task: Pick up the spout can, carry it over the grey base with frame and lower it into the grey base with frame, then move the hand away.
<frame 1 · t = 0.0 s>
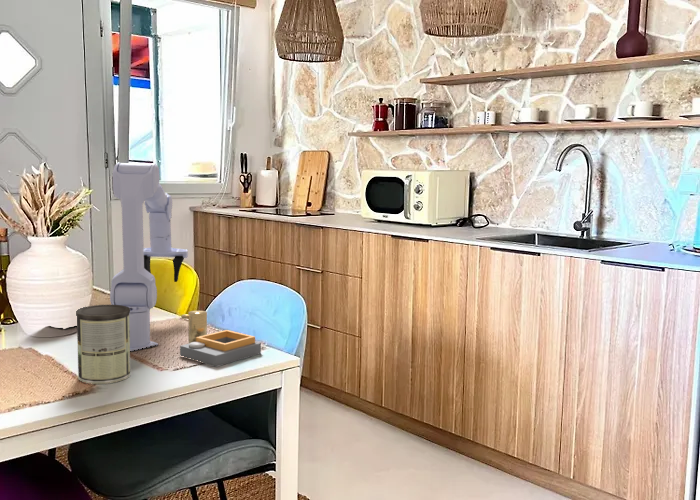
hand: (162, 280, 190), 11 cm above the table, tool pointing down, fingers open, 7 cm apart
spout can: (197, 344, 162), on the table
coffee can: (104, 377, 136), on the table
grey base with frame: (220, 354, 154), on the table
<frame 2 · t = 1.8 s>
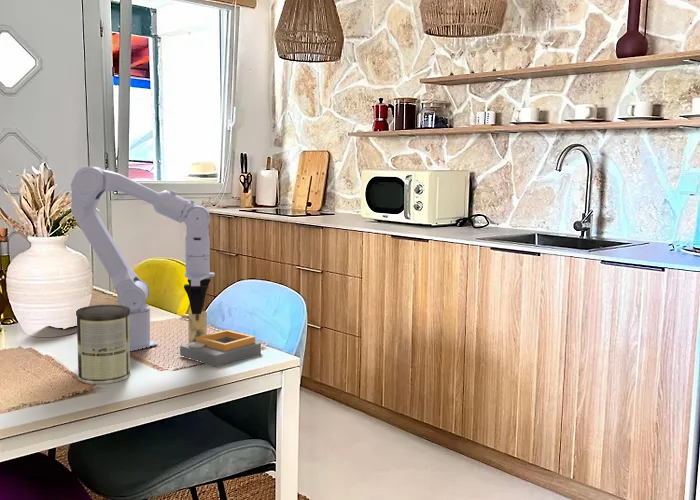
hand: (197, 310, 161), 9 cm above the table, tool pointing down, fingers open, 7 cm apart
nothing on the table moved.
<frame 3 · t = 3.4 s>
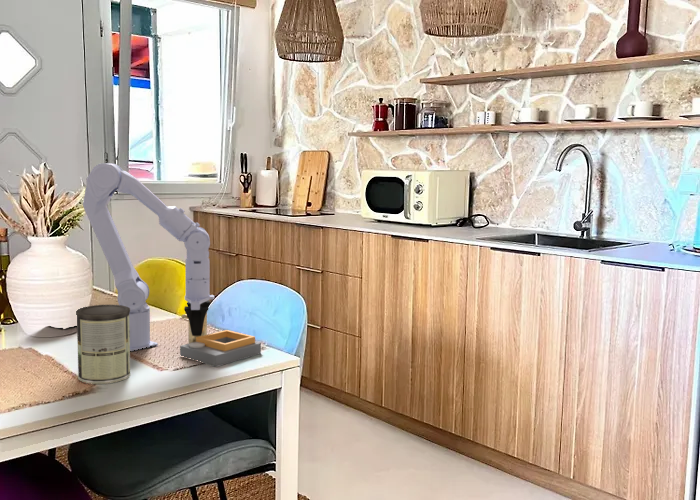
hand: (197, 332, 162), 3 cm above the table, tool pointing down, fingers closed on spout can, 4 cm apart
spout can: (197, 344, 162), on the table, touching gripper
everything else where it was.
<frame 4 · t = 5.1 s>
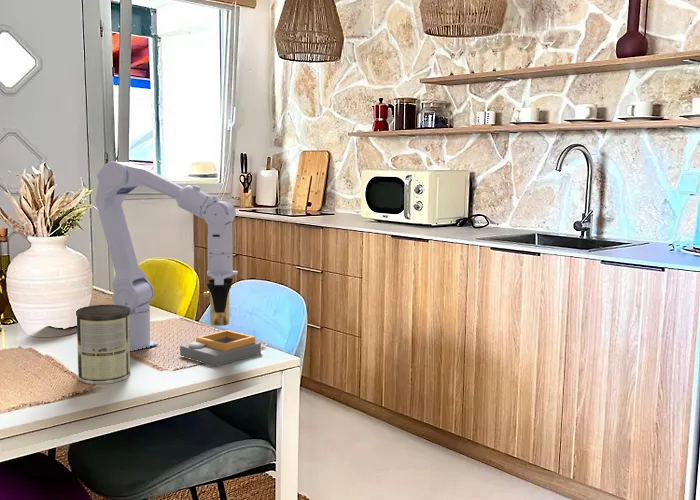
hand: (220, 310, 155), 10 cm above the table, tool pointing down, fingers closed on spout can, 4 cm apart
spout can: (219, 323, 156), point 7 cm above the table, touching gripper
everything else where it was.
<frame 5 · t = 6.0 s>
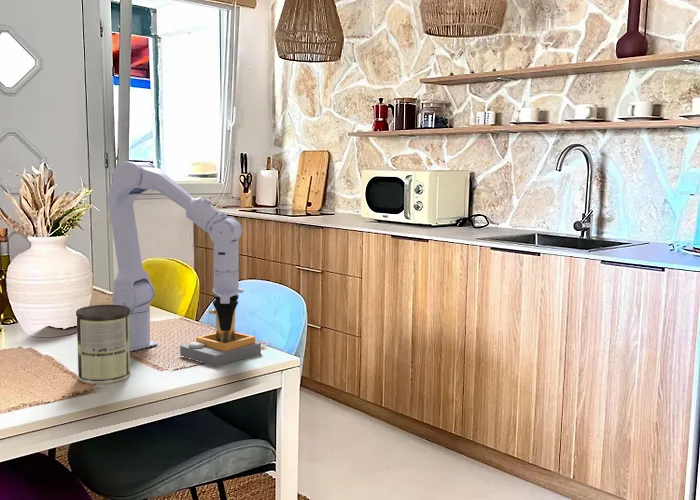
hand: (225, 327, 154), 6 cm above the table, tool pointing down, fingers closed on spout can, 4 cm apart
spout can: (225, 341, 155), point 3 cm above the table, touching gripper
everything else where it was.
when the fingers open (4 cm above the table, at t = 6.8 s): spout can drops 1 cm, resting in grey base with frame.
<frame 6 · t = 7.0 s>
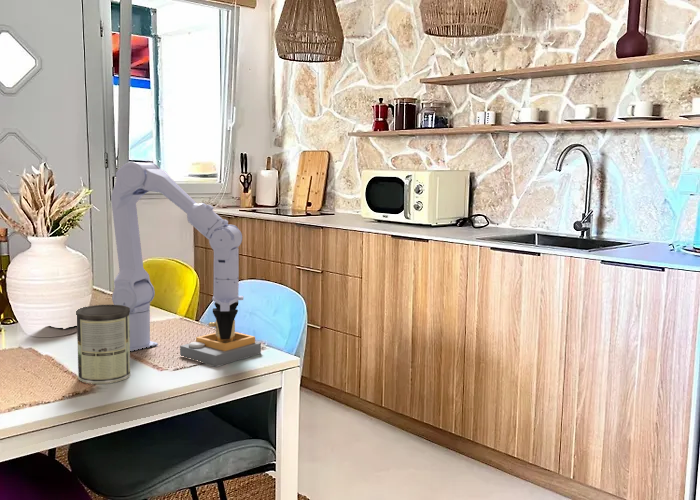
hand: (225, 335, 155), 4 cm above the table, tool pointing down, fingers open, 6 cm apart
spout can: (225, 353, 155), resting in grey base with frame
everything else where it was.
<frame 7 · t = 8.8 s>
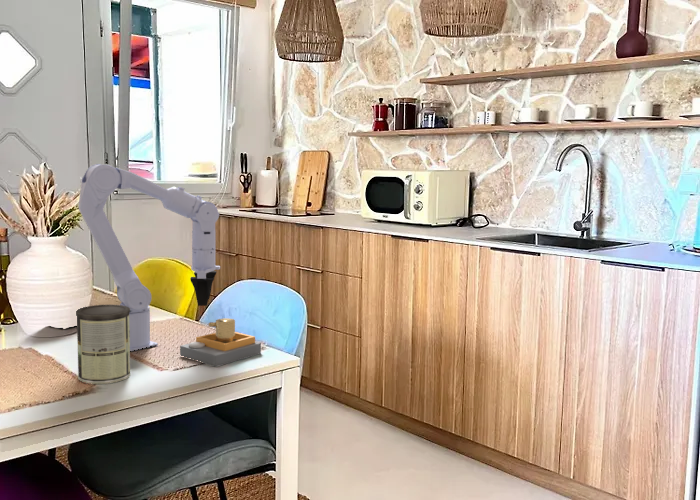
hand: (203, 302, 167), 9 cm above the table, tool pointing down, fingers open, 7 cm apart
nothing on the table moved.
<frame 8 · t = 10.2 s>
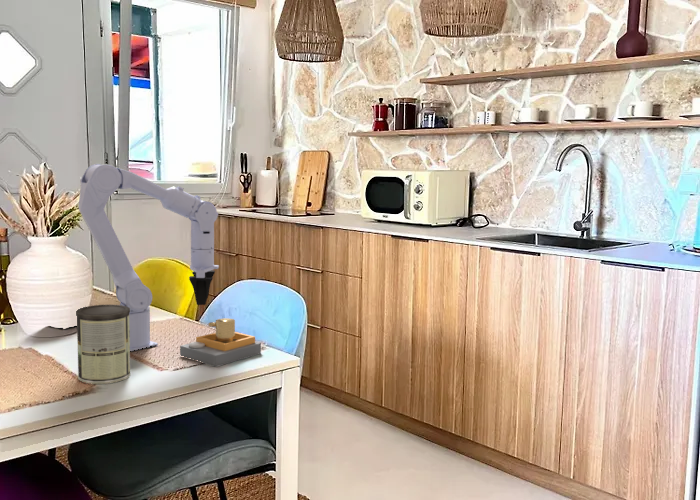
hand: (202, 301, 168), 9 cm above the table, tool pointing down, fingers open, 7 cm apart
nothing on the table moved.
at the end: spout can 0.2 cm from the target spot on the grey base with frame, point 0.0 cm above the grey base with frame's base; spout can tilted 0°; the gripper is holding nothing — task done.
